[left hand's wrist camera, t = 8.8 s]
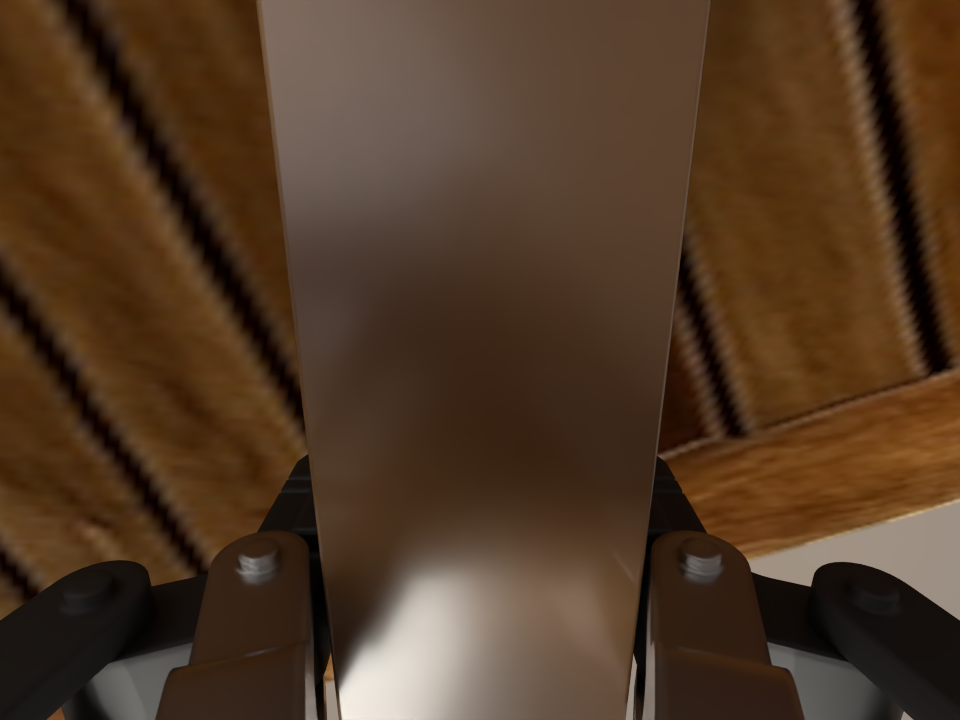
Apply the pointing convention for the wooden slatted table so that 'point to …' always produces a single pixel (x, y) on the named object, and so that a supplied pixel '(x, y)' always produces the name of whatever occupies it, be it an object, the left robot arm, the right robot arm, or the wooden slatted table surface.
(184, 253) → the wooden slatted table surface
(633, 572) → the bar
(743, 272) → the wooden slatted table surface
